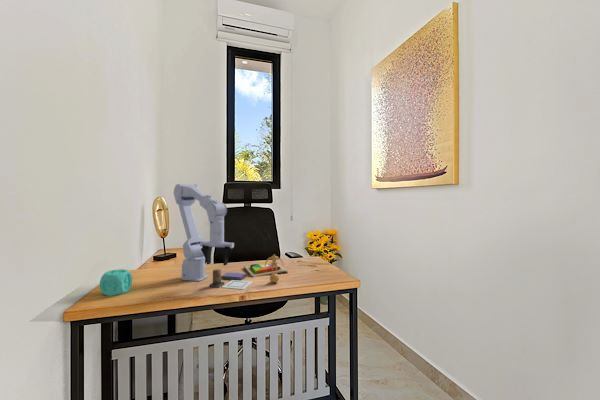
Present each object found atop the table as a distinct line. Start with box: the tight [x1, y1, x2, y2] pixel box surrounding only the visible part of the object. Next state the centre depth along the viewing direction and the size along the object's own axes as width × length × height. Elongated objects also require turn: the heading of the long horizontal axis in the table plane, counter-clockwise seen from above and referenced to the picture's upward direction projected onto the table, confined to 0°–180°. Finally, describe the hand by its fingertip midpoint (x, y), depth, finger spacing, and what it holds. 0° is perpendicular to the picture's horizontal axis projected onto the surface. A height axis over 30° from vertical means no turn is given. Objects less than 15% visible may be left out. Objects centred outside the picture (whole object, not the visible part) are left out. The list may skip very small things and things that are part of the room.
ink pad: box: [221, 272, 248, 281], centre depth 129 cm, size 10×7×1 cm
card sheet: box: [220, 280, 254, 290], centre depth 119 cm, size 10×10×1 cm
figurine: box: [264, 254, 284, 284], centre depth 123 cm, size 8×6×12 cm
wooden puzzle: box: [243, 260, 289, 278], centre depth 142 cm, size 18×19×4 cm
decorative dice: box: [99, 268, 133, 297], centre depth 109 cm, size 8×8×8 cm
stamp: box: [209, 268, 225, 289], centre depth 118 cm, size 4×4×6 cm
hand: (217, 264), depth 117 cm, fingers open, 7 cm apart
